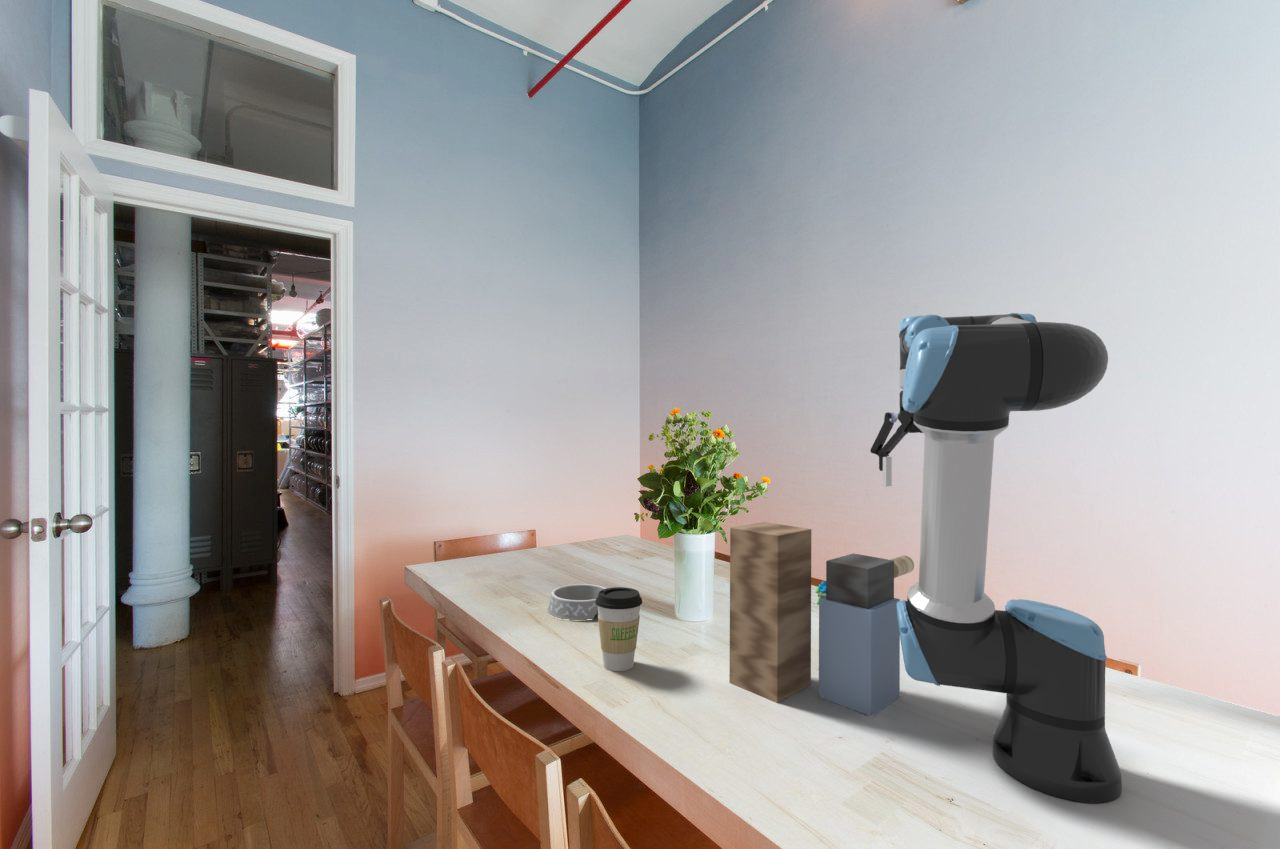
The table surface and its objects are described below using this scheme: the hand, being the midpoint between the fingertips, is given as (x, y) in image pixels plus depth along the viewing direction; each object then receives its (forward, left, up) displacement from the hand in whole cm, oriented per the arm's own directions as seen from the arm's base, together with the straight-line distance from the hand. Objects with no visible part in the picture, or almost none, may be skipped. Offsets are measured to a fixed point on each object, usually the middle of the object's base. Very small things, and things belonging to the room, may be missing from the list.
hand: (918, 488), depth 124 cm
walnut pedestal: (+14, +34, -37) cm, 52 cm away
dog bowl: (+75, +35, -37) cm, 90 cm away
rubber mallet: (0, +18, -19) cm, 26 cm away
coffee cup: (+40, +50, -37) cm, 74 cm away
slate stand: (0, +26, -37) cm, 45 cm away
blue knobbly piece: (+32, -22, -37) cm, 54 cm away
